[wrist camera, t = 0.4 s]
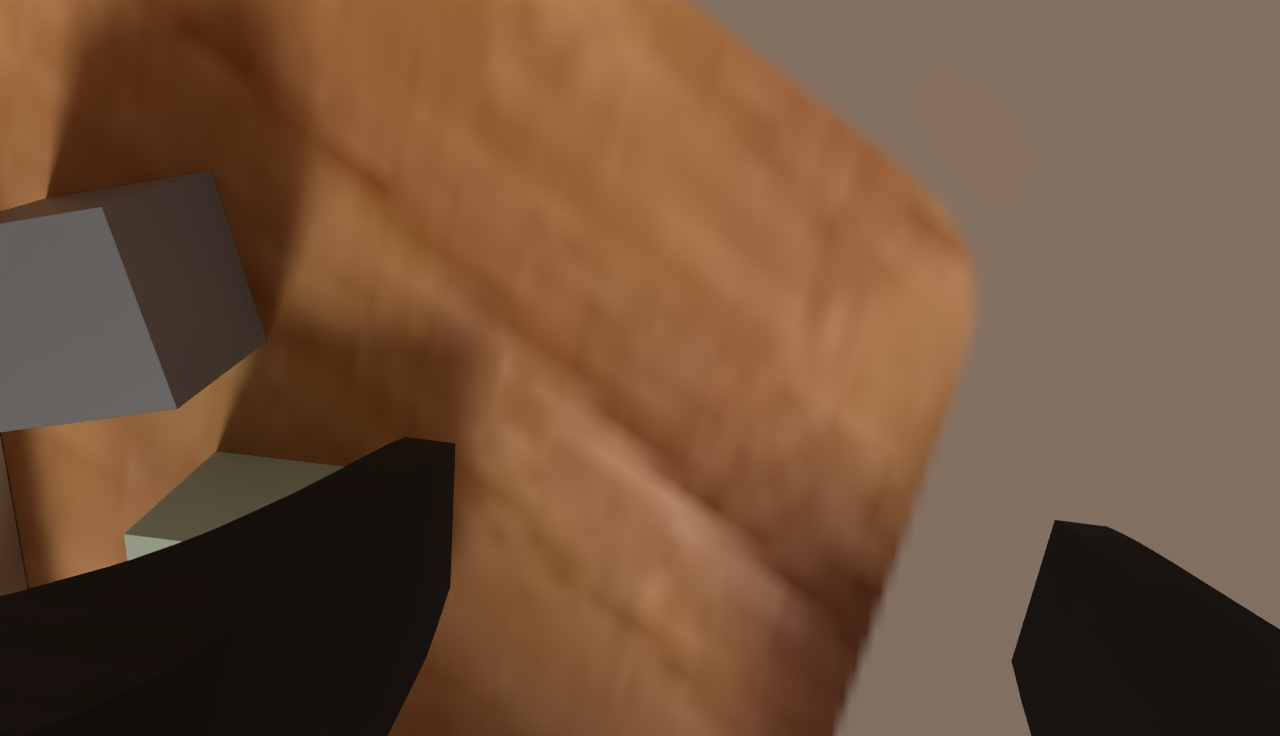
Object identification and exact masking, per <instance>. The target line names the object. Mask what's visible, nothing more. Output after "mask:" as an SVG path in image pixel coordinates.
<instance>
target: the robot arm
mask: <svg viewBox="0 0 1280 736" xmlns="http://www.w3.org/2000/svg"><path fill="white" fill-rule="evenodd" d="M454 465H455V443H448V442H440V441H432V440H424V439H417V438H409V437H405V438H402V439H400V440H397V441H395V442H392V443H390V444H388V445H386V446H384V447H382V448H380V449H378V450H376V451H374V452H372V453H370V454H368V455H366V456H364V457H362V458H360V459H359V460H357V461H355V462H353V463H351V464H349V465H347V466H345V467H343V468H341V469H339V470H337V471H336V472H334V473H332V474H330V475H328V476H326V477H324V478H322V479H320V480H318V481H316V482H314V483H312V484H310V485H308V486H306V487H304V488H302V489H300V490H298V491H296V492H294V493H292V494H290V495H288V496H286V497H284V498H282V499H279V500H277V501H275V502H273V503H271V504H269V505H266V506H264V507H262V508H260V509H258V510H255V511H253V512H251V513H249V514H247V515H244V516H242V517H240V518H238V519H236V520H233V521H231V522H229V523H227V524H225V525H222V526H220V527H218V528H215V529H213V530H210V531H208V532H206V533H203V534H201V535H198V536H195V537H193V538H190V539H188V540H185V541H182V542H180V543H177V544H174V545H172V546H169V547H166V548H163V549H160V550H157V551H154V552H152V553H149V554H146V555H143V556H140V557H137V558H134V559H131V560H128V561H125V562H122V563H119V564H116V565H113V566H110V567H106V568H102V569H99V570H95V571H91V572H88V573H84V574H81V575H77V576H73V577H70V578H66V579H62V580H59V581H55V582H52V583H48V584H44V585H41V586H37V587H33V588H30V589H26V590H23V591H19V592H15V593H11V594H7V595H3V596H0V736H388V734H389V732H390V730H391V728H392V726H393V724H394V722H395V720H396V718H397V716H398V714H399V712H400V710H401V708H402V706H403V704H404V702H405V699H406V697H407V695H408V693H409V691H410V689H411V687H412V685H413V683H414V681H415V679H416V677H417V675H418V673H419V671H420V669H421V667H422V665H423V663H424V661H425V659H426V656H427V654H428V651H429V648H430V645H431V642H432V640H433V637H434V634H435V631H436V628H437V625H438V622H439V619H440V616H441V613H442V610H443V607H444V604H445V601H446V598H447V595H448V592H449V589H450V577H451V549H452V521H453V493H454ZM1012 665H1013V669H1014V673H1015V677H1016V681H1017V685H1018V689H1019V693H1020V697H1021V701H1022V705H1023V708H1024V712H1025V715H1026V718H1027V722H1028V725H1029V729H1030V732H1031V736H1280V629H1278V628H1277V627H1275V626H1273V625H1272V624H1270V623H1269V622H1267V621H1265V620H1264V619H1262V618H1260V617H1259V616H1257V615H1256V614H1254V613H1252V612H1251V611H1249V610H1248V609H1246V608H1244V607H1243V606H1241V605H1240V604H1238V603H1236V602H1235V601H1233V600H1232V599H1230V598H1228V597H1227V596H1225V595H1224V594H1222V593H1220V592H1219V591H1217V590H1216V589H1214V588H1213V587H1211V586H1209V585H1208V584H1206V583H1204V582H1203V581H1201V580H1200V579H1198V578H1197V577H1195V576H1193V575H1192V574H1190V573H1189V572H1187V571H1185V570H1184V569H1182V568H1181V567H1179V566H1178V565H1176V564H1174V563H1173V562H1171V561H1169V560H1168V559H1166V558H1164V557H1163V556H1161V555H1159V554H1158V553H1156V552H1154V551H1153V550H1151V549H1149V548H1148V547H1146V546H1144V545H1142V544H1141V543H1139V542H1137V541H1135V540H1133V539H1132V538H1130V537H1128V536H1126V535H1124V534H1122V533H1120V532H1118V531H1115V530H1113V529H1111V528H1109V527H1106V526H1098V525H1090V524H1081V523H1074V522H1066V521H1058V520H1055V521H1054V525H1053V528H1052V531H1051V534H1050V538H1049V541H1048V544H1047V548H1046V551H1045V554H1044V557H1043V561H1042V564H1041V567H1040V571H1039V574H1038V577H1037V580H1036V583H1035V587H1034V590H1033V593H1032V596H1031V600H1030V603H1029V606H1028V609H1027V613H1026V616H1025V619H1024V622H1023V626H1022V629H1021V632H1020V635H1019V639H1018V642H1017V646H1016V648H1015V652H1014V655H1013V658H1012Z"/></svg>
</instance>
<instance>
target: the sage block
mask: <svg viewBox="0 0 1280 736" xmlns="http://www.w3.org/2000/svg"><path fill="white" fill-rule="evenodd" d="M341 468H343V466H335V465H326V464H318V463H310V462H302V461H293V460H285V459H277V458H269V457H260V456H252V455H244V454H236V453H227V452H219V451H216V452H215V453H214V454H213V455H211V456H210V457H209V458H208V459H207V460H206V461H205V462H204V463H203V464H201V465H200V466H199V467H198V468H197V469H196V470H195V471H194V472H193V473H191V474H190V475H189V476H188V477H187V478H186V479H185V480H184V481H183V482H182V483H180V484H179V485H178V486H177V487H176V488H175V489H174V490H173V491H172V492H170V493H169V494H168V495H167V496H166V497H165V498H164V499H163V500H162V501H160V502H159V503H158V504H157V505H156V506H155V507H154V508H153V509H152V510H150V511H149V512H148V513H147V514H146V515H145V516H144V517H143V518H142V519H140V520H139V521H138V522H137V523H136V524H135V525H134V526H133V527H132V528H130V529H129V530H128V531H127V532H126V533H125V534H124V537H125V545H126V553H127V560H131V559H134V558H137V557H140V556H143V555H146V554H149V553H152V552H154V551H157V550H160V549H163V548H166V547H169V546H172V545H174V544H177V543H180V542H182V541H185V540H188V539H190V538H193V537H195V536H198V535H201V534H203V533H206V532H208V531H210V530H213V529H215V528H218V527H220V526H222V525H225V524H227V523H229V522H231V521H233V520H236V519H238V518H240V517H242V516H244V515H247V514H249V513H251V512H253V511H255V510H258V509H260V508H262V507H264V506H266V505H269V504H271V503H273V502H275V501H277V500H279V499H282V498H284V497H286V496H288V495H290V494H292V493H294V492H296V491H298V490H300V489H302V488H304V487H306V486H308V485H310V484H312V483H314V482H316V481H318V480H320V479H322V478H324V477H326V476H328V475H330V474H332V473H334V472H336V471H337V470H339V469H341Z"/></svg>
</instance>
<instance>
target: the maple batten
mask: <svg viewBox="0 0 1280 736" xmlns="http://www.w3.org/2000/svg"><path fill="white" fill-rule="evenodd" d="M26 589H28V588H27V583H26V577H25V571H24V566H23V560H22V555H21V549H20V544H19V538H18V532H17V527H16V521H15V516H14V510H13V505H12V499H11V493H10V488H9V482H8V477H7V471H6V465H5V460H4V454H3V449H2V443H1V438H0V596H3V595H7V594H11V593H15V592H19V591H23V590H26Z"/></svg>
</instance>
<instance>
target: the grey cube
mask: <svg viewBox="0 0 1280 736" xmlns="http://www.w3.org/2000/svg"><path fill="white" fill-rule="evenodd" d="M266 341H267V340H266V337H265V334H264V331H263V328H262V325H261V322H260V319H259V316H258V312H257V309H256V306H255V303H254V300H253V297H252V294H251V291H250V288H249V285H248V282H247V279H246V276H245V273H244V270H243V267H242V264H241V261H240V258H239V255H238V252H237V248H236V245H235V242H234V239H233V236H232V233H231V230H230V227H229V224H228V221H227V218H226V215H225V212H224V209H223V206H222V203H221V200H220V197H219V194H218V191H217V188H216V184H215V181H214V178H213V175H212V172H211V171H206V172H200V173H194V174H188V175H182V176H176V177H170V178H164V179H158V180H152V181H146V182H140V183H134V184H128V185H122V186H116V187H110V188H104V189H98V190H93V191H87V192H81V193H75V194H69V195H63V196H57V197H51V198H45V199H42V200H38V201H35V202H32V203H28V204H25V205H21V206H18V207H14V208H11V209H7V210H4V211H1V212H0V432H7V431H15V430H22V429H30V428H37V427H45V426H52V425H60V424H67V423H75V422H83V421H90V420H98V419H105V418H113V417H120V416H128V415H135V414H143V413H150V412H158V411H165V410H173V409H178V408H179V407H180V406H182V405H183V404H184V403H186V402H187V401H188V400H190V399H191V398H192V397H194V396H195V395H196V394H198V393H199V392H200V391H202V390H203V389H204V388H205V387H207V386H208V385H209V384H211V383H212V382H213V381H215V380H216V379H217V378H219V377H220V376H221V375H223V374H224V373H225V372H227V371H228V370H229V369H231V368H232V367H233V366H235V365H236V364H237V363H239V362H240V361H241V360H243V359H244V358H245V357H246V356H248V355H249V354H250V353H252V352H253V351H254V350H256V349H257V348H258V347H260V346H261V345H262V344H264V343H265V342H266Z"/></svg>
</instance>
